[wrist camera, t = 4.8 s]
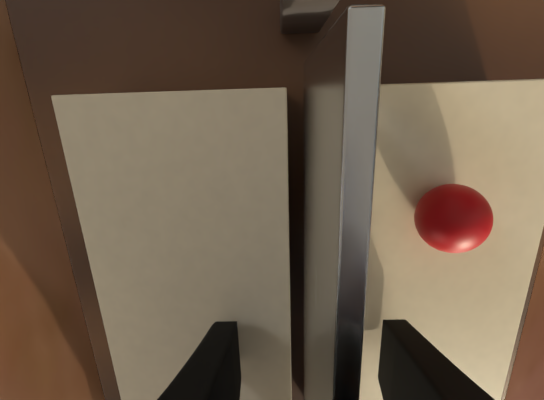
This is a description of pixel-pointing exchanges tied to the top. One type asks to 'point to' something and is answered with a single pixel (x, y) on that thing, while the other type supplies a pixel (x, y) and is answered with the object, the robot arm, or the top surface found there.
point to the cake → (275, 224)
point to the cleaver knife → (339, 197)
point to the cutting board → (247, 85)
